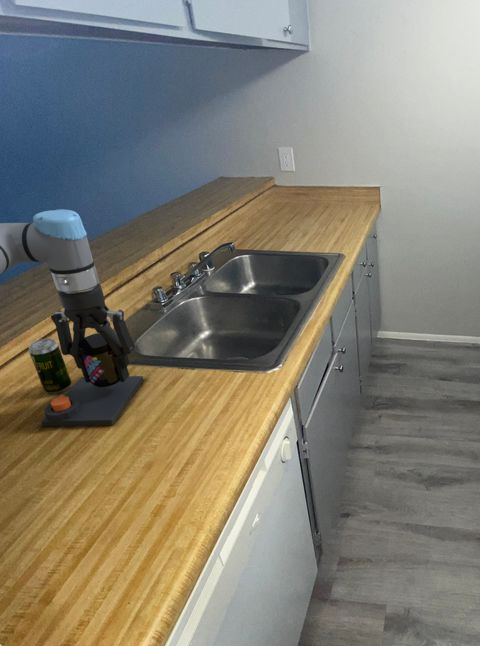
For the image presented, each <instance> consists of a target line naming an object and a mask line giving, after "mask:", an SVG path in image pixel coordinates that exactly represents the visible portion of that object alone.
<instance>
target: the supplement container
mask: <svg viewBox="0 0 480 646" xmlns="http://www.w3.org/2000/svg"><path fill="white" fill-rule="evenodd" d="M78 347H79V350H80V353H81V355H82V358H83V361H84V364H85V367H86V370H87V373H88V376H89V379H90V382H91V384H92V385H94V386H96V387H108V386H111V385H114V384H116V383H118V382H119V381H120V378H119V375H118V371H117V368H116V365H115V361H114V357H115V355H116V354H115V353H114V351H113V350H112V349H111V347H110V346H109V344H108V343H107V342H106V341H105V339H104V338H103V337H102V335H101V334H100V333H98V332H96V333H93V334H89V335H87V336H85V338H84V339H83V340H82V341H81V342H80V343H79V344H78Z"/></svg>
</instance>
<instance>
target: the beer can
mask: <svg viewBox="0 0 480 646" xmlns="http://www.w3.org/2000/svg"><path fill="white" fill-rule="evenodd" d="M28 349H29V350H28V354H29V356H30V359H31V361H32V364H33V366H34V368H35V371H36V373H37V374H36V375H37V376H38V379H39V381H40V383H41V386H42V389H43V391H45V393H47V394H49V395H57V394H58V395H59V394H61V393H63V392H65V391H67V390H69V389H70V388H71V387H72V386H71V385H72V380H71V376H70V374H69V371H68V367H67V366H66V363H65V360H64V358H63V354H62V352H61V348H60V345H59V343H57V341H56V339H54V338H43V339H38V340H36V341H34V342H31V343H30V344H29V345H28Z"/></svg>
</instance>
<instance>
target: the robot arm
mask: <svg viewBox="0 0 480 646" xmlns="http://www.w3.org/2000/svg"><path fill="white" fill-rule="evenodd" d="M32 221H33V222H0V275H2V274H4V273H5V272H7V271H8V270H10V269H11V268H12V267H14V266H16V265H17V264H20V263H21V264H22V263H42V262H46V263H47V266H48V268H49V271H50V273H51V276H52V277H51V278H52V279H53V283H54V285H55V288H56V290H57V295H58V298H59V301H60V303H61V307H62V308H63V309H64V310H61V309H58V310H56V311H55V312H54V313H53V314H51V316H50V319H51V321H52V322H53V324H54V325H55V329H56V333H57V338H58V344H59V348H60V352H61V354H62V356H71V357H72V358H73V359H74V362H75V365H76V368H77V369H80V370H81V373H82V377H84V378H85V381H86V383H89V382H90V379H89V376H88V373H87V370H86V367H85V364H84V361H83V358H82V355H81V353H80V350H79V347H78V344H79V343H80V342H81V341H82V340H83V339H84V338H85V337H86V329H93V330H95V332H96V333H100V334H101V335H102V337H103V338H104V339H105V341H106V342H107V343H108V344H109V346H110V347H111V349H112V350H113V351H114V353H115V354H116V355H115V357H114V361H115V365H116V368H117V371H118V375H119V378H120V381H121V382H125V380H126V379H127V378H128V376H130V372H129V369H128V367H129V365H130V359H129V356H128V355H130V354H131V353H132V352H133V350H134V349H135V343H134V341H133V339H132V336H131V334H130V332H129V331H130V330H129V329H128V326H127V324H126V322H125V312H124V310H122V309H118V310H117V311H116V310H110V308H109V307H108V306H107V305H106V299H105V295H104V292H103V288H102V285H101V284H100V277H99V274H98V271H97V267H96V264H95V261H94V259H93V254H92V251H91V247H90V243H89V239H88V235H87V234H88V233H87V231H86V229H85V226H84V224H83V221H82V218H81V216H80V215H79V214H78V212H76V211H74V210H71V209H55V210H54V209H53V210H44V211H41V212H38V213H36V214H35V215H34V216H33V217H32ZM108 318H109V320H108ZM69 320H70V322H72V323H73V324H72V332H73V335H72V332H71V327H70V323H69ZM111 323H112V326H113V328H112V327H111Z"/></svg>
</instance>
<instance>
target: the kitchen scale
mask: <svg viewBox="0 0 480 646" xmlns="http://www.w3.org/2000/svg"><path fill="white" fill-rule="evenodd" d="M143 382H144V376H143V375H129V376H128V378H127V379H126V380H125V382H121V381H119V382H118V383H116V384H114V385H111V386H108V387H96V386H94V385H92V384H91V382H89V383H86V381H85V378H84V376H81V377H80V378H79V379H78V380H77V381H76V382H75V383H74V384H73V385H72V386H71V387H70V388H69V389H68V391H67V392H66V393H65V395H63V396H67V397H69V400H70V402H71V407H69V408H68V409H66V410H63V411H60V412H55V411H54V410H53V408H52V405H51V402H50V403H48V404H47V405H46V406H45V407H44V415H45V416H44V418H42V420H41V421H40V422H41V425H42V427H75V426H77V427H79V426H113V425H115V422H116V421H117V420H118V418H119V417H120V415H122V412H123V411H124V409H126V407H127V405H128V404H129V403H130V401H131V399H132V398H133V397H134V395H135V394H136V392H137V391H138V390H139V388H140V386H141V385H142V384H143Z"/></svg>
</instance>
